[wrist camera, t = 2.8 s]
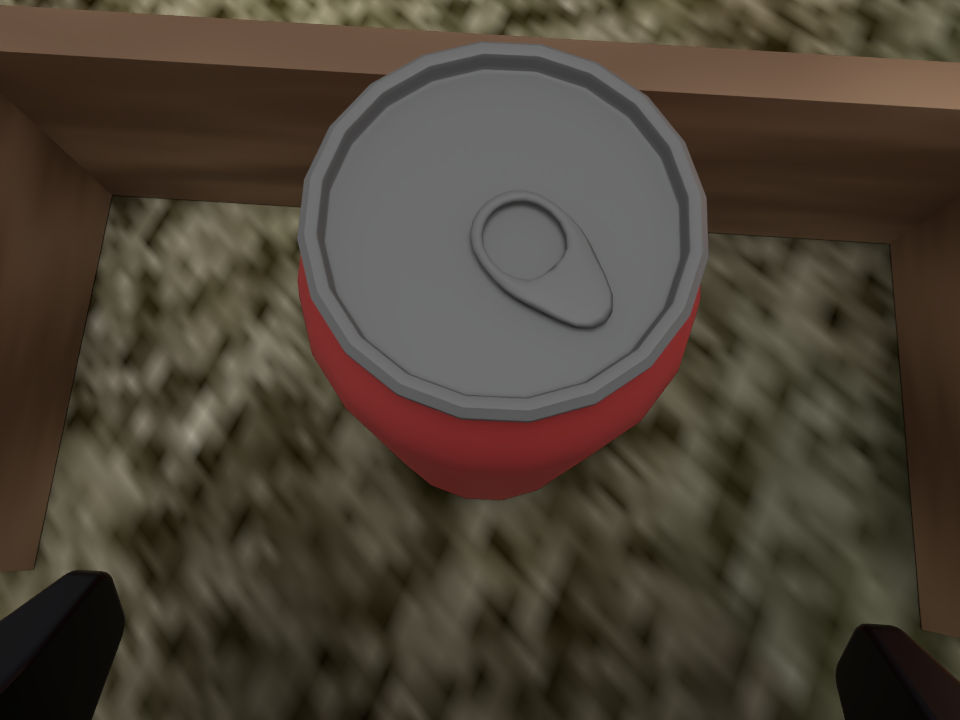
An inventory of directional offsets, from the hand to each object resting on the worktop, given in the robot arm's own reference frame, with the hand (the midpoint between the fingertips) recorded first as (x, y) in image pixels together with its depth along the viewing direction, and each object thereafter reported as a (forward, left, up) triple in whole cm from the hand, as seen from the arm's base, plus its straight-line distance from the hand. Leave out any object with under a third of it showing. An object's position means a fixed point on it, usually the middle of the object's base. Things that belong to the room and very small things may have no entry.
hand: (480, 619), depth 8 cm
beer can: (+4, -3, -12) cm, 13 cm away
